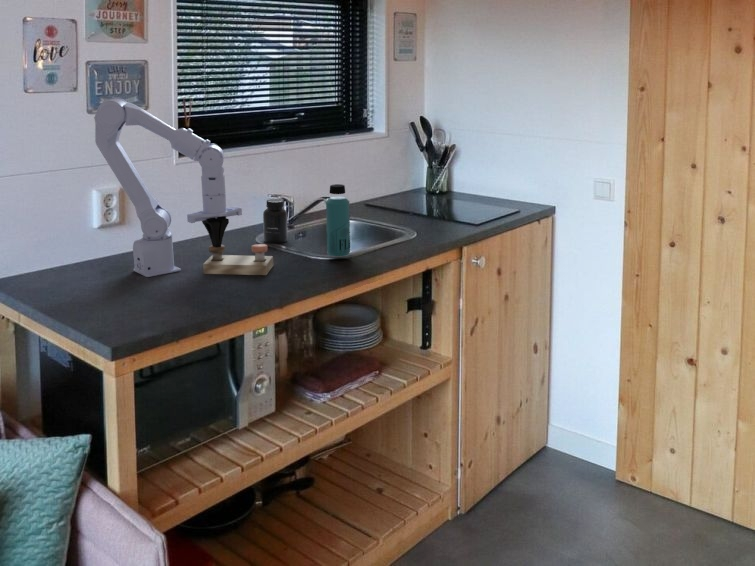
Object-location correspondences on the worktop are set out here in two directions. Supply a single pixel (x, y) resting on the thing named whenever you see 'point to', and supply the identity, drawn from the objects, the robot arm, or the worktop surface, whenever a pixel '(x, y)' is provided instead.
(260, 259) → the terracotta plunger
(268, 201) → the supplement bottle
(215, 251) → the walnut plunger
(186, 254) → the worktop surface
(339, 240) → the beverage bottle
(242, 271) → the board
